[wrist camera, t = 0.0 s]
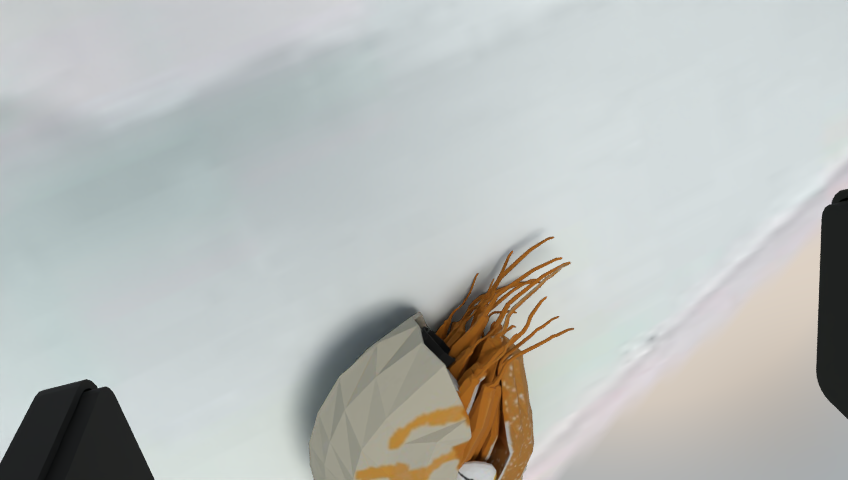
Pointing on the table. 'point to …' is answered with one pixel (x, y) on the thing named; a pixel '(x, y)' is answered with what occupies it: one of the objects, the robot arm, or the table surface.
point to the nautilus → (435, 399)
